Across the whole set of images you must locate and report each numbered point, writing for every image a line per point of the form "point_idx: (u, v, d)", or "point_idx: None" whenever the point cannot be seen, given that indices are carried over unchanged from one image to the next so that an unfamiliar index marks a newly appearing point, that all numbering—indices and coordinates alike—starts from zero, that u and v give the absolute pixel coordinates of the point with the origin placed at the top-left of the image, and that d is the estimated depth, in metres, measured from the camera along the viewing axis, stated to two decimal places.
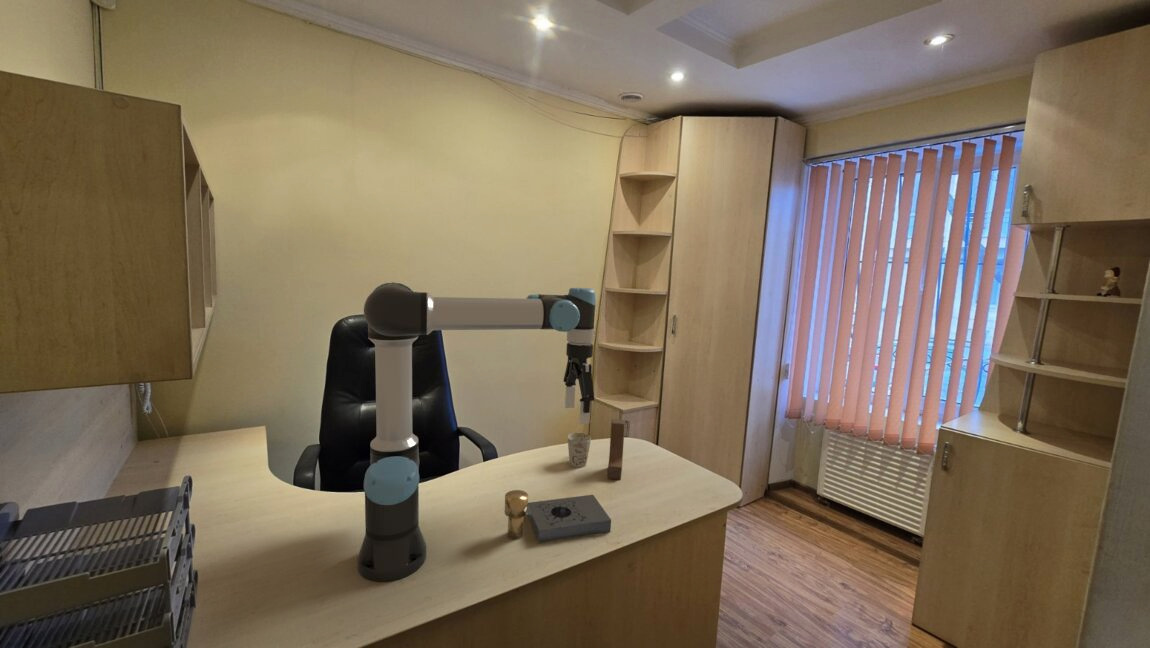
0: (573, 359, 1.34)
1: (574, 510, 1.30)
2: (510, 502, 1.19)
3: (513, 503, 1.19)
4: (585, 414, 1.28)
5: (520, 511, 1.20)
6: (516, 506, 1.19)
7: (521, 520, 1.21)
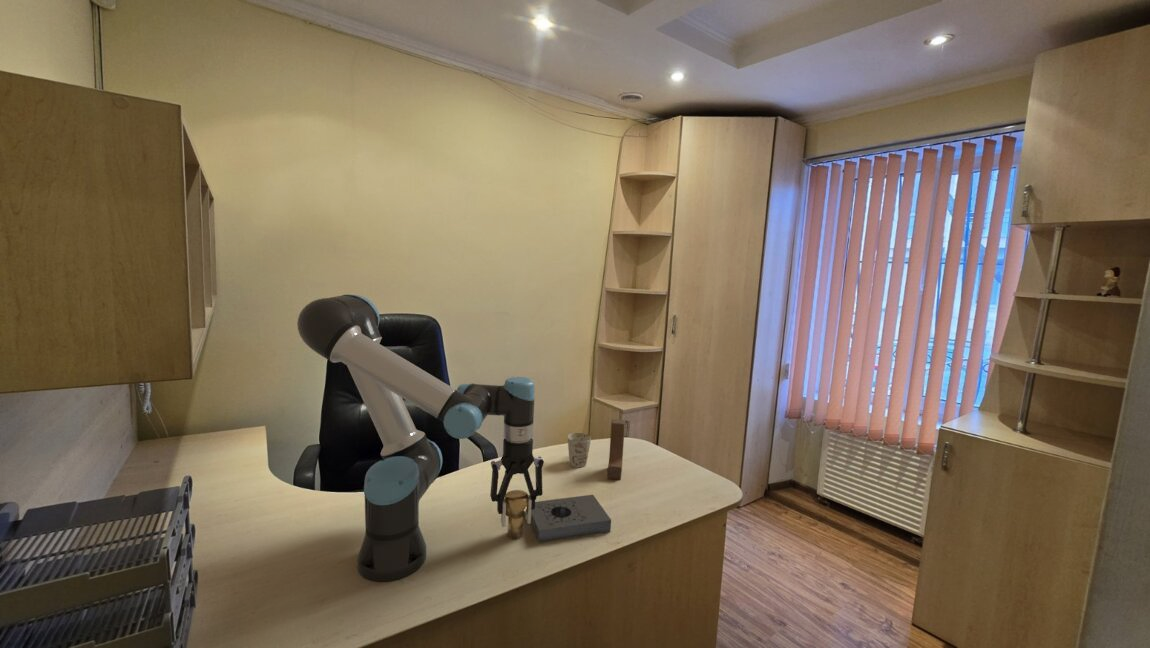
0: None
1: (574, 510, 1.30)
2: (510, 502, 1.19)
3: (513, 503, 1.19)
4: (501, 515, 1.21)
5: (520, 511, 1.20)
6: (516, 506, 1.19)
7: (521, 520, 1.21)
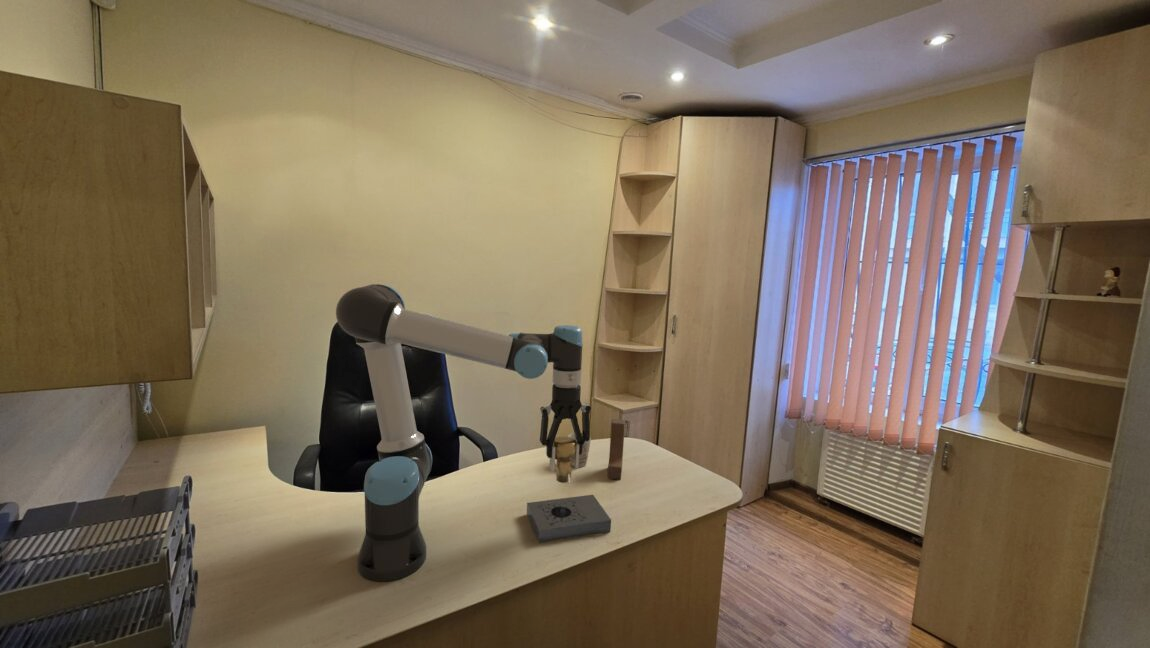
0: None
1: (574, 510, 1.30)
2: (559, 446, 1.23)
3: (563, 446, 1.23)
4: (551, 459, 1.25)
5: (569, 454, 1.24)
6: (566, 449, 1.23)
7: (569, 464, 1.26)
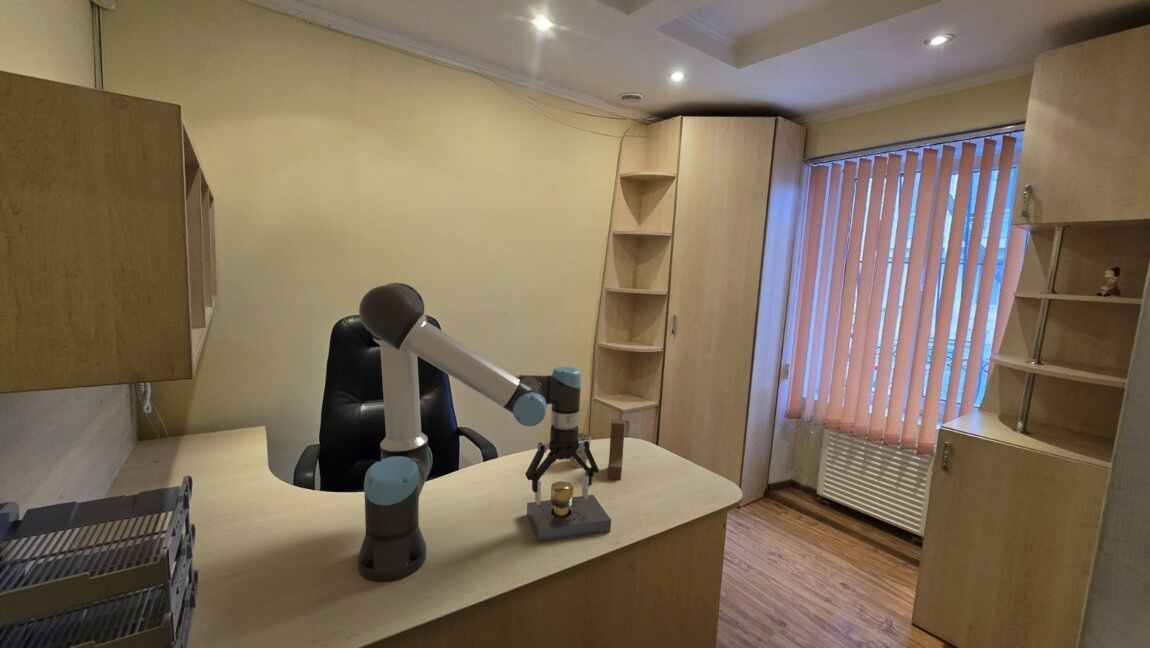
0: None
1: (574, 510, 1.30)
2: (557, 492, 1.25)
3: (560, 493, 1.25)
4: (536, 493, 1.26)
5: (566, 501, 1.25)
6: (563, 496, 1.25)
7: (567, 510, 1.27)
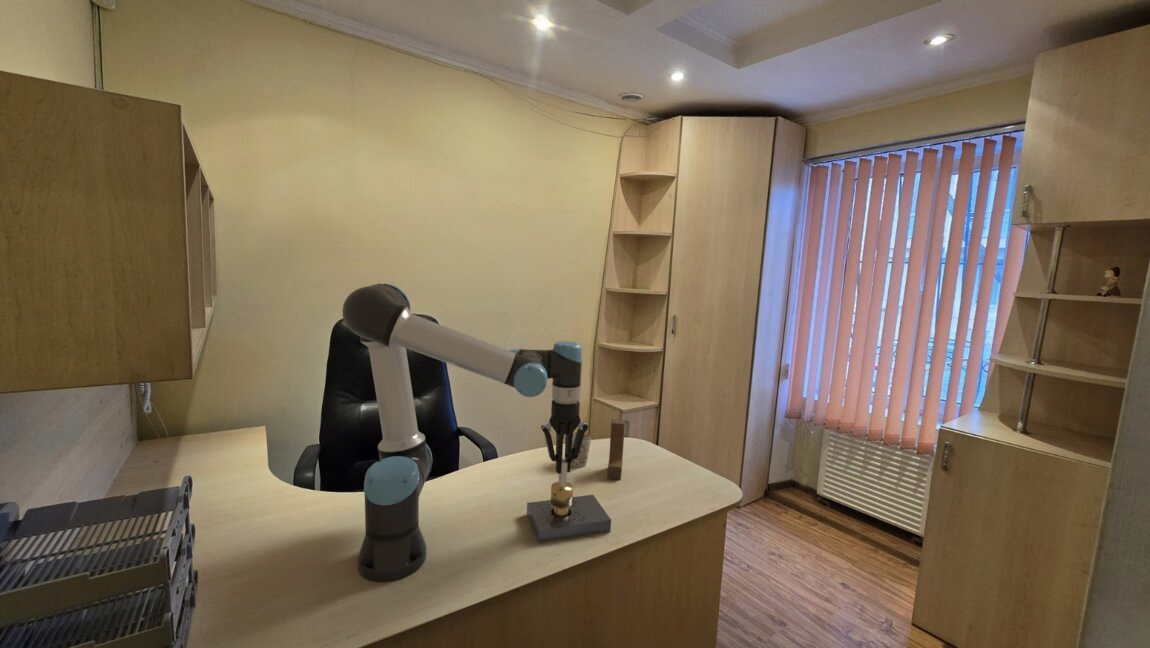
0: None
1: (574, 510, 1.30)
2: (557, 492, 1.25)
3: (560, 493, 1.25)
4: (560, 475, 1.27)
5: (566, 501, 1.25)
6: (563, 496, 1.25)
7: (567, 510, 1.27)
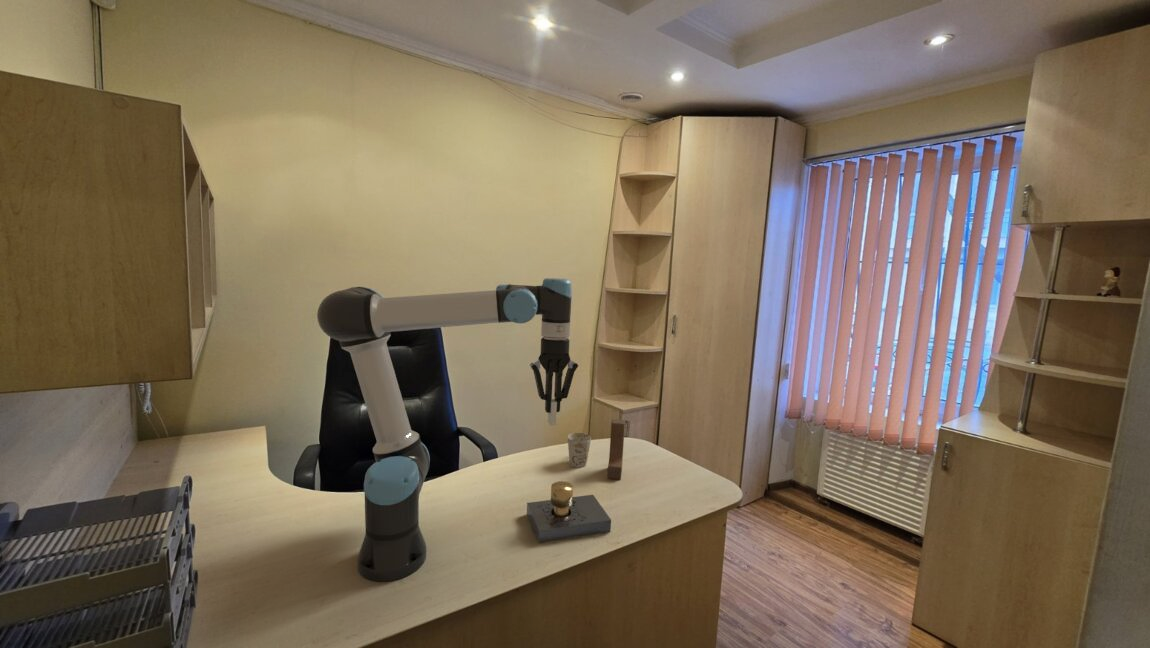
0: None
1: (574, 510, 1.30)
2: (557, 492, 1.25)
3: (560, 493, 1.25)
4: (549, 414, 1.26)
5: (566, 501, 1.25)
6: (563, 496, 1.25)
7: (567, 510, 1.27)
